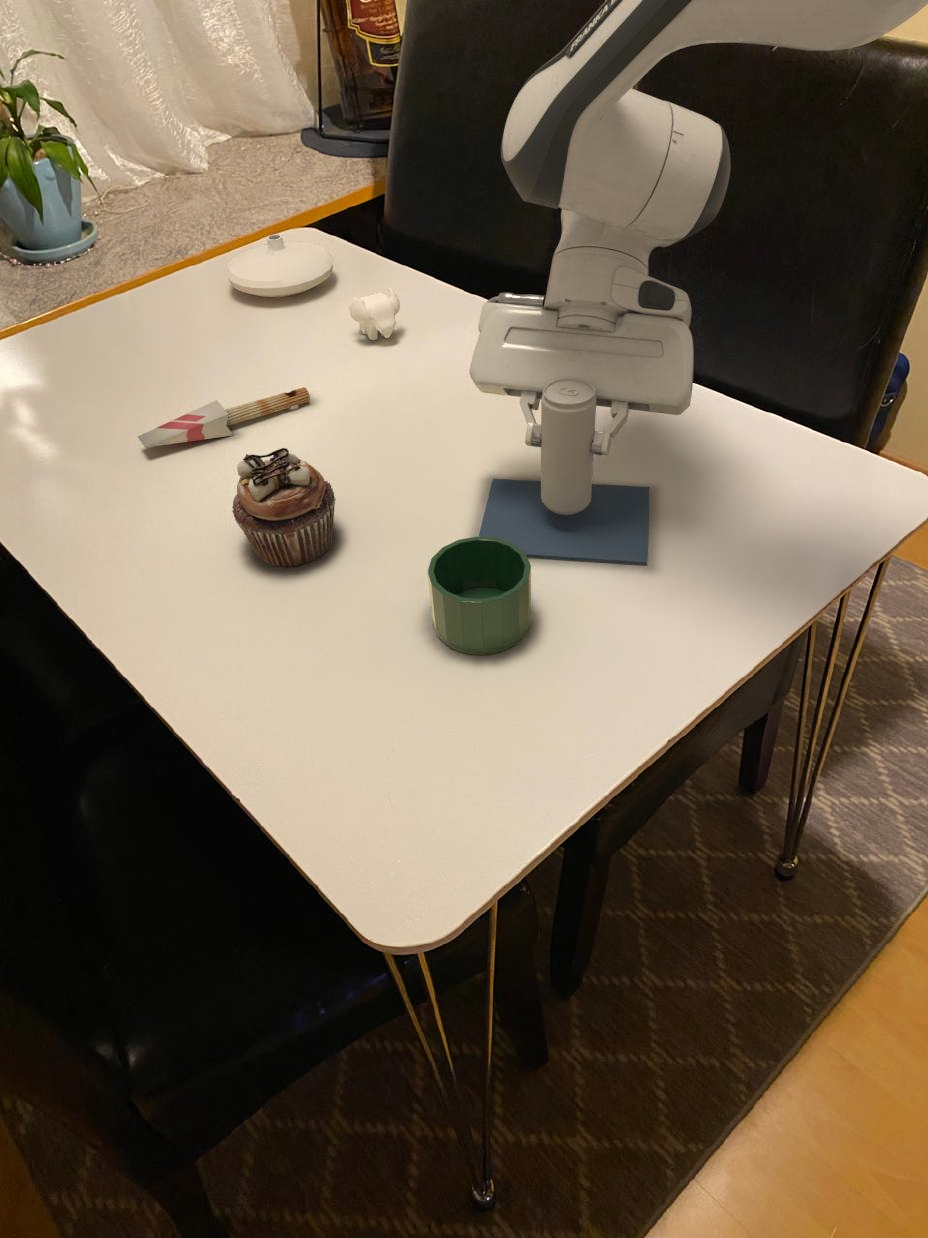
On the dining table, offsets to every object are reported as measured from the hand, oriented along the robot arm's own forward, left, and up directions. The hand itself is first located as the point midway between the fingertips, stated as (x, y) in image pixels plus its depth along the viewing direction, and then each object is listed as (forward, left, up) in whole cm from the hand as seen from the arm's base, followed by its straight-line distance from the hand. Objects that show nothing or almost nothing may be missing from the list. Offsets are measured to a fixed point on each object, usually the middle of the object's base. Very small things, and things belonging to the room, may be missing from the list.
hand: (566, 449), depth 82 cm
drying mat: (0, -1, -9) cm, 9 cm away
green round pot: (+6, +14, -9) cm, 18 cm away
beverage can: (0, -1, -7) cm, 7 cm away
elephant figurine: (+28, -39, -9) cm, 48 cm away
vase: (+46, -54, -9) cm, 71 cm away
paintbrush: (+40, -15, -9) cm, 43 cm away
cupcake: (+26, +5, -9) cm, 28 cm away
